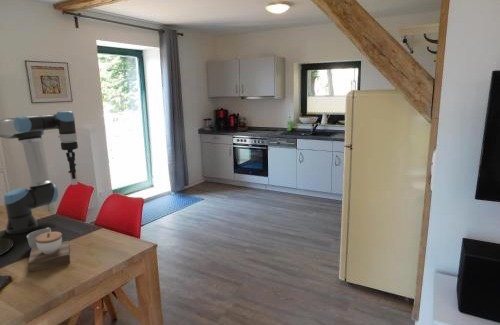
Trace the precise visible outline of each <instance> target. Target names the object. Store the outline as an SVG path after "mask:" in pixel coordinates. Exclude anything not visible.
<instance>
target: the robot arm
mask: <svg viewBox="0 0 500 325" xmlns="http://www.w3.org/2000/svg"><path fill="white" fill-rule="evenodd" d="M76 129H77V128H76V122H75V115H74V111H71V110H64V111H63V110H60V111H57V112H56V113H52V114H51V113H50V114H45V115H44V114H43V115H28V116H27V115H26V116H17V117H11V118H10V117H9V118H3V119H0V138H2V139H7V140H8V139H10V140H11V139H12V140H13V139H18V142H19V143H21V144H22V147H23V148H22V149H23V152H24V155H25V159H26V160H25V161H26V164H27V168H28V172H29V177H30V181H31V183H30V184H29V189H28V188H27V187H20V188H15V189H12V190H10V191H8V192H6V193H5V194H4V196H3V197H4V198H3V199H4V206H5V210H6V215H7V222H6V227H5V230H6V233H7V234H9V235H19V234H23V233H27V232H31V231H33V230H35V229H36V228H37V227H38V221H37V220H36V217H34V215H33V211H32V210H33V209H36V208H40V207H44V206H48V205H52V204H54V203H56V202H57V201H58V198H59V189H58V187H57V185H56V184H54V183H53V181H51V180H49V177H48V173H47V172H48V171H47V168H46V164H45V160H44V156H43V151H42V147H41V143H40V141H41V140H42V138H43V137H42V136H44V134H45V131H49V130H50V131H51V130H58V138H59V141H60V148H61V151H67V152H65V156H66V158H67V159H66V160H67V162H68V164H69V167H68V168H69V171H67V172H68V174H69V175H70V176H69V177H70V183H71V186H74V185H78V178H77V177H78V176H77V170H76V166H77V163H75V161H76V153H75V151H74V150H77V149H78V148H79V147H78V146H79V144H78V141H77V140H78V136H77V131H76Z"/></svg>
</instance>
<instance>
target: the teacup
mask: <svg viewBox="0 0 500 325" xmlns="http://www.w3.org/2000/svg"><path fill="white" fill-rule="evenodd" d="M47 232H52V229H51V228H50V227H45V228H41V229H37V230H35V231H32V232H31V231H30V233H28V234H27V235H26V239H27V242H28V245H29V247H30V248H31V249H32V248H35V247H37V245H36V240H35V238H36V237H37V236H38V235H40V234H43V233H47Z"/></svg>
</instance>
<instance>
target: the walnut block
mask: <svg viewBox="0 0 500 325" xmlns="http://www.w3.org/2000/svg"><path fill="white" fill-rule="evenodd" d="M70 263H71V247H70V240H66V241H65V240H64V241H62V244H61V246H60V248H59V249H58V251H57V252H55V253H52V254H44V253H42V252H41V251H39V249H38V248H37V247H35V248H31V250H30V254H29V258H28V261H27V265H28V269H29V273H32V272H37V271H41V270H45V269H50V268H54V267H55V268H56V267H58V266H59V267H60V266H63V265H67V264H70Z"/></svg>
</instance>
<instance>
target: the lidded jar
mask: <svg viewBox="0 0 500 325" xmlns="http://www.w3.org/2000/svg"><path fill="white" fill-rule="evenodd" d="M35 240H36V245H37V248H38V249H39V251H41V252H42V253H44V254H52V253H55V252H57V251H58V249H59V248H60V246H61V244H62V242H63V234H62V233H61V232H60V231H51V232H47V233H43V234H40V235H38V236H37V237H36V238H35Z"/></svg>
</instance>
